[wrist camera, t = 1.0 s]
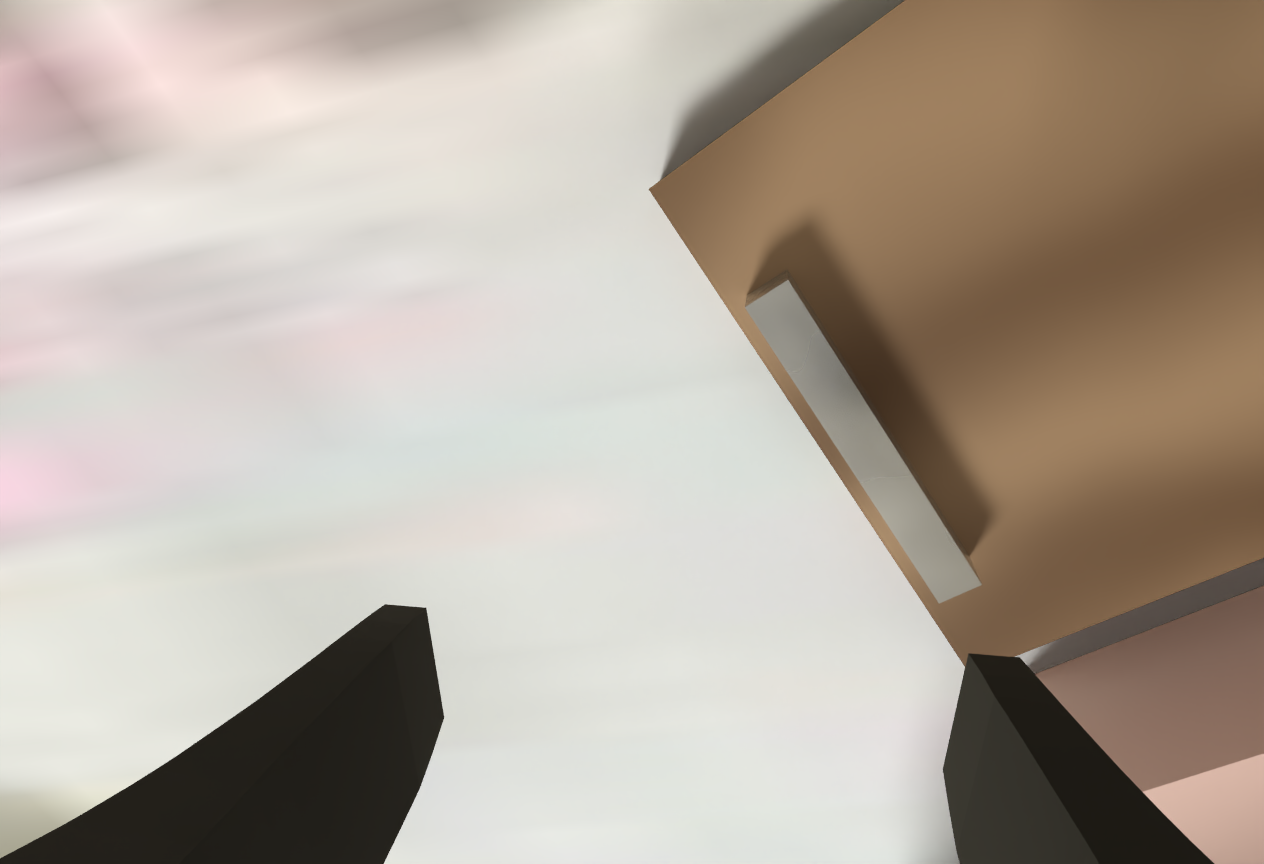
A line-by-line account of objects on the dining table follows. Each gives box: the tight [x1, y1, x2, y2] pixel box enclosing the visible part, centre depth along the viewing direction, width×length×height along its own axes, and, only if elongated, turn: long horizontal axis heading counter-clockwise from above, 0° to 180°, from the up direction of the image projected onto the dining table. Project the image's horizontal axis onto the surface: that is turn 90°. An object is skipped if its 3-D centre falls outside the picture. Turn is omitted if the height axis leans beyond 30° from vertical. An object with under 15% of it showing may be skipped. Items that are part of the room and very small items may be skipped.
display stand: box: [649, 0, 1264, 666], centre depth 15 cm, size 14×14×3 cm
